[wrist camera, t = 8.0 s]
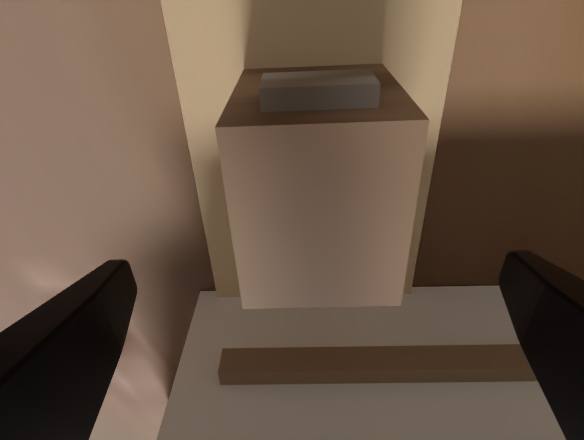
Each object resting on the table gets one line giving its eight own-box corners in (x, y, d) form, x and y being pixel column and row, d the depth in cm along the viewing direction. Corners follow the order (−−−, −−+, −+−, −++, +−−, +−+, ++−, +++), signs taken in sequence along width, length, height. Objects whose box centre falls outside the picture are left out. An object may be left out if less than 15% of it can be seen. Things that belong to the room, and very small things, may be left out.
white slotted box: (743, -39, 13) (1382, -40, 5) (572, 304, 21) (723, 492, 14) (132, -15, 13) (-81, 17, 6) (204, 311, 22) (156, 494, 14)
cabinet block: (383, 45, 14) (433, 93, 9) (370, 206, 17) (400, 305, 12) (241, 51, 14) (210, 101, 9) (258, 209, 18) (242, 309, 13)
